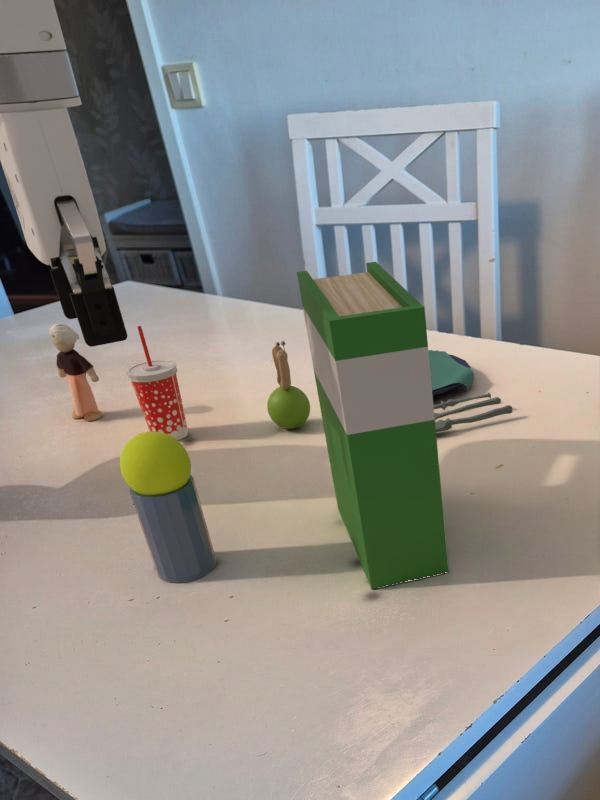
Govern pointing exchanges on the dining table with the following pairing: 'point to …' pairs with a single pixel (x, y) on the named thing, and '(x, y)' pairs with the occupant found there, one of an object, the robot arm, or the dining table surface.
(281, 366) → the snail figurine
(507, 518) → the dining table surface
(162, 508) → the cup
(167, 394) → the beverage cup
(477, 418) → the cutlery set
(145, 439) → the ball
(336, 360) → the hardback book
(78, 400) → the grandmother figurine
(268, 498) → the dining table surface
